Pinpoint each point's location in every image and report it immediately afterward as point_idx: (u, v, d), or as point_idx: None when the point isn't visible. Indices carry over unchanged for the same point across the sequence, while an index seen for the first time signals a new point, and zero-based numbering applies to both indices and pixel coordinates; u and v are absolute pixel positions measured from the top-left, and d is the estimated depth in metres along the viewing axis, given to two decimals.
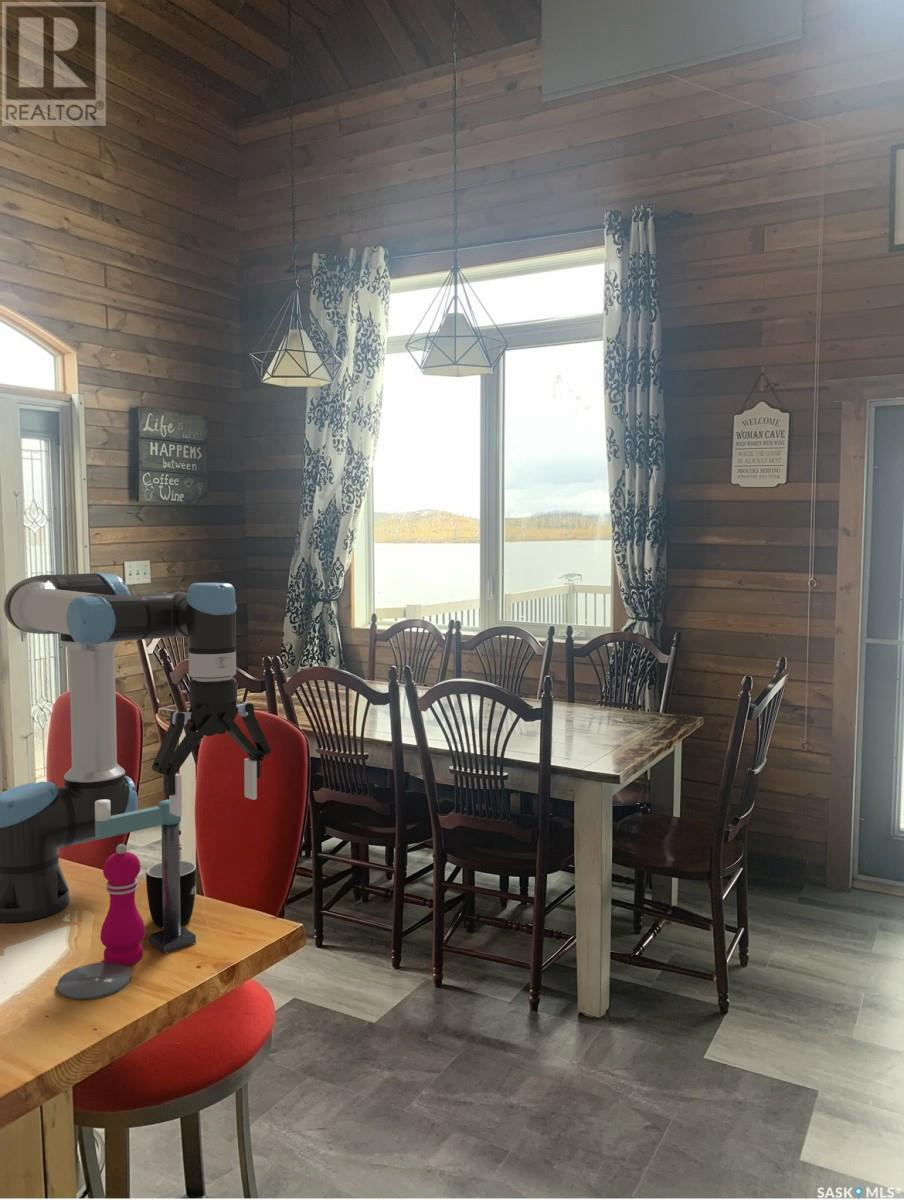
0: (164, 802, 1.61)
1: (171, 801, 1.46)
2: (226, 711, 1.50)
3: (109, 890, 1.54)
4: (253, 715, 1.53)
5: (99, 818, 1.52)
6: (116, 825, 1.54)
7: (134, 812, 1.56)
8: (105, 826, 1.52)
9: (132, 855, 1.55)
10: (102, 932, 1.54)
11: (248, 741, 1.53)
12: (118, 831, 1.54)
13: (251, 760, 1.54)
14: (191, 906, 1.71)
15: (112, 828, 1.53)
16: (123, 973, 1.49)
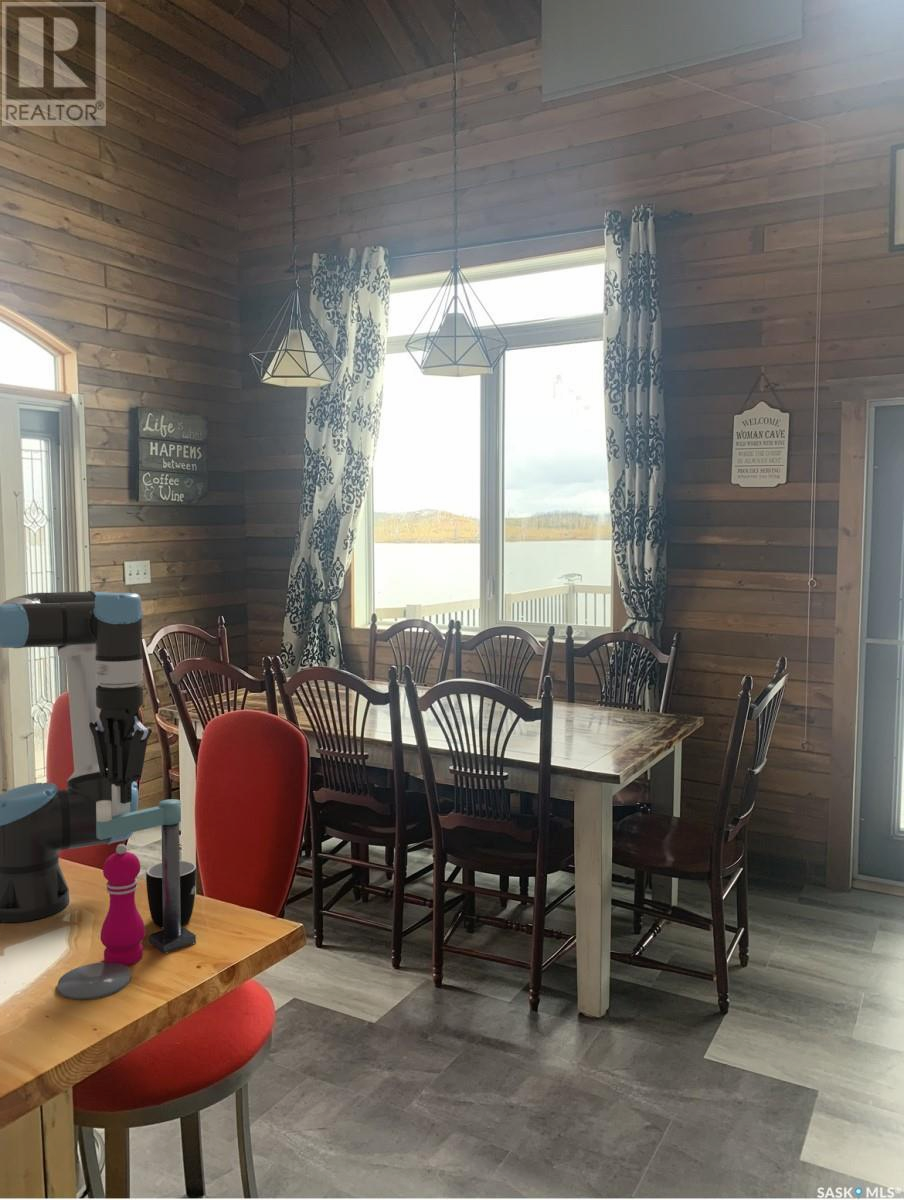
0: (164, 802, 1.60)
1: None
2: (123, 714, 1.53)
3: (109, 890, 1.54)
4: (135, 741, 1.52)
5: (101, 819, 1.51)
6: (117, 825, 1.53)
7: (135, 812, 1.56)
8: (106, 827, 1.52)
9: (132, 855, 1.55)
10: (102, 932, 1.54)
11: (121, 762, 1.54)
12: (119, 831, 1.54)
13: None
14: (191, 906, 1.71)
15: (113, 829, 1.53)
16: (123, 973, 1.49)
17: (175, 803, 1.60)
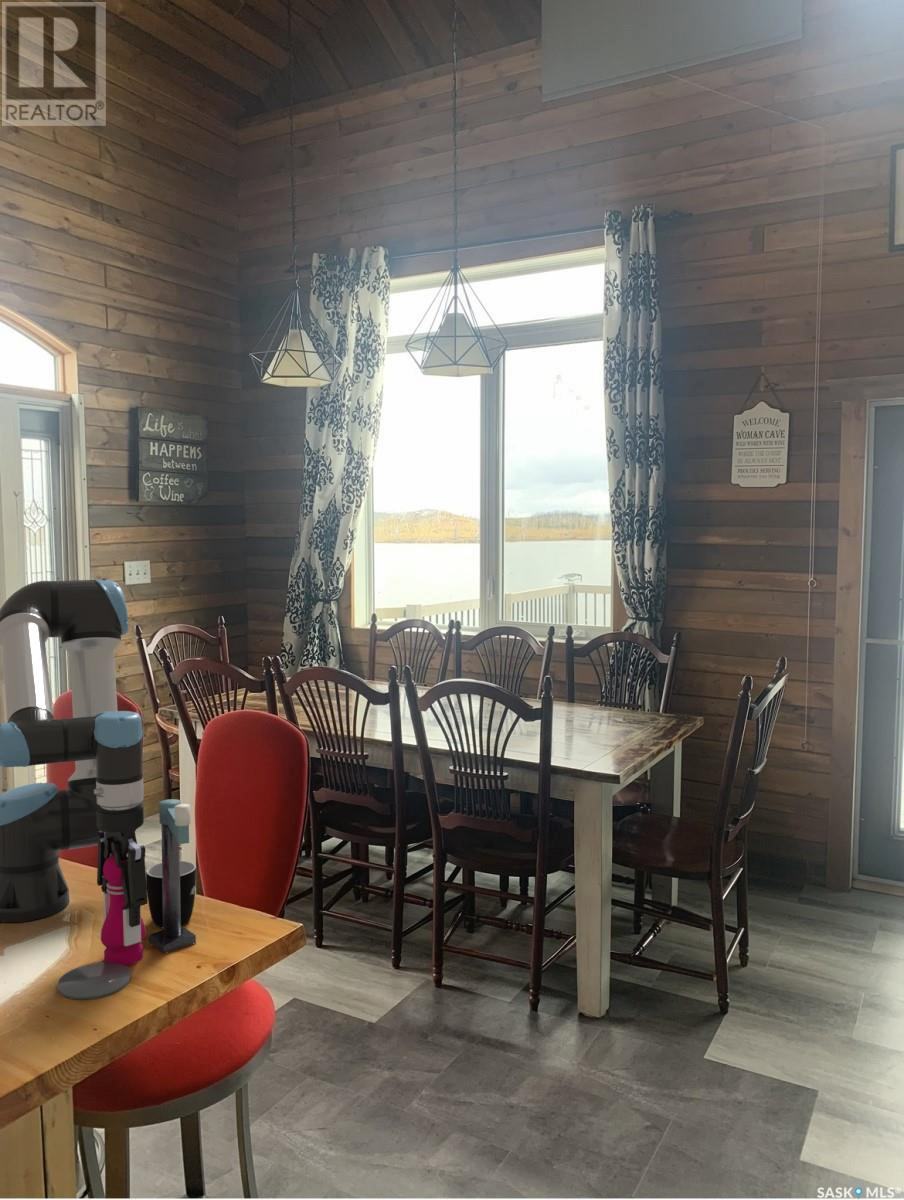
0: (169, 803, 1.60)
1: None
2: (119, 838, 1.53)
3: (109, 890, 1.54)
4: (130, 862, 1.50)
5: (188, 822, 1.50)
6: None
7: None
8: None
9: None
10: (102, 932, 1.54)
11: (124, 883, 1.52)
12: None
13: None
14: (191, 906, 1.71)
15: None
16: (123, 973, 1.49)
17: (177, 800, 1.62)
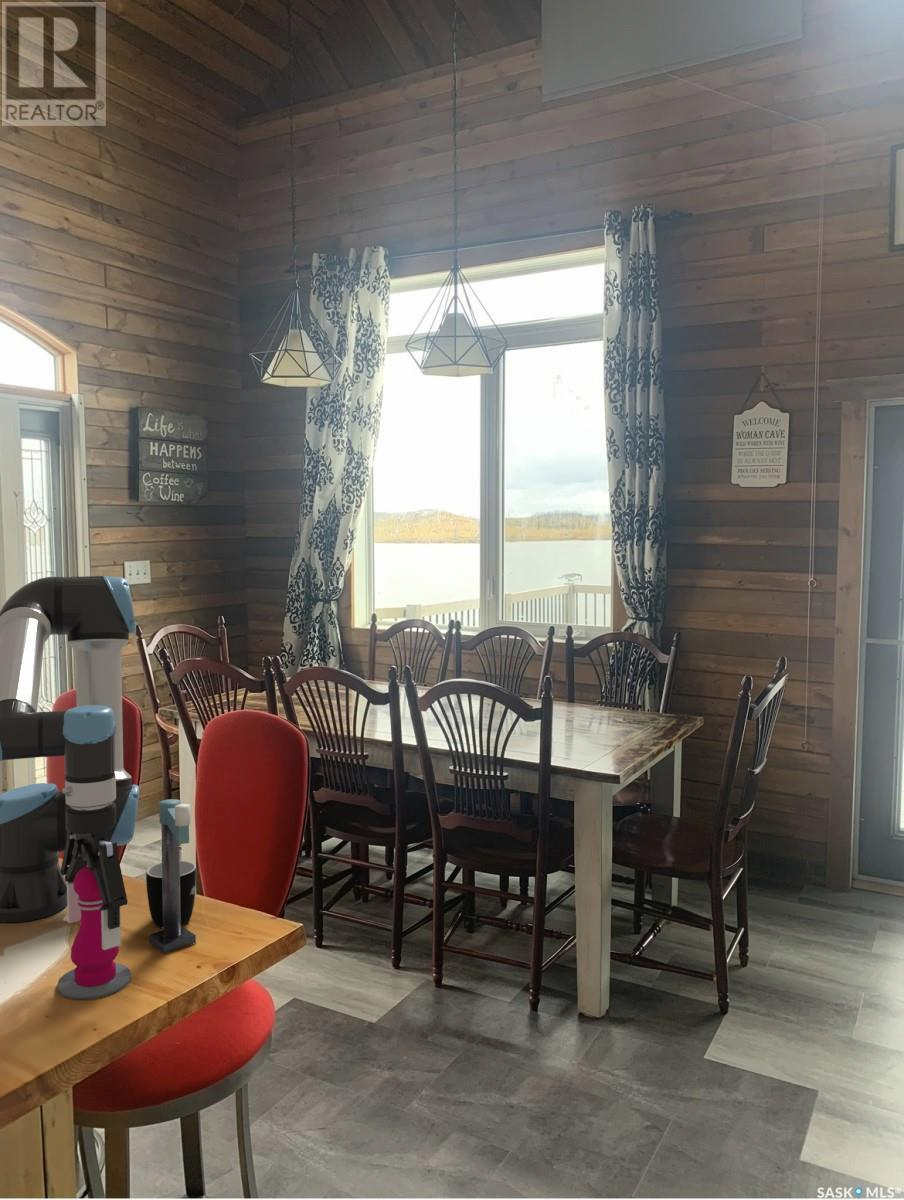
0: (169, 803, 1.60)
1: None
2: (89, 842, 1.44)
3: (80, 905, 1.45)
4: (102, 858, 1.41)
5: (188, 822, 1.50)
6: None
7: None
8: None
9: None
10: (72, 950, 1.46)
11: (99, 883, 1.42)
12: None
13: None
14: (191, 906, 1.71)
15: None
16: (123, 973, 1.49)
17: (177, 800, 1.62)
